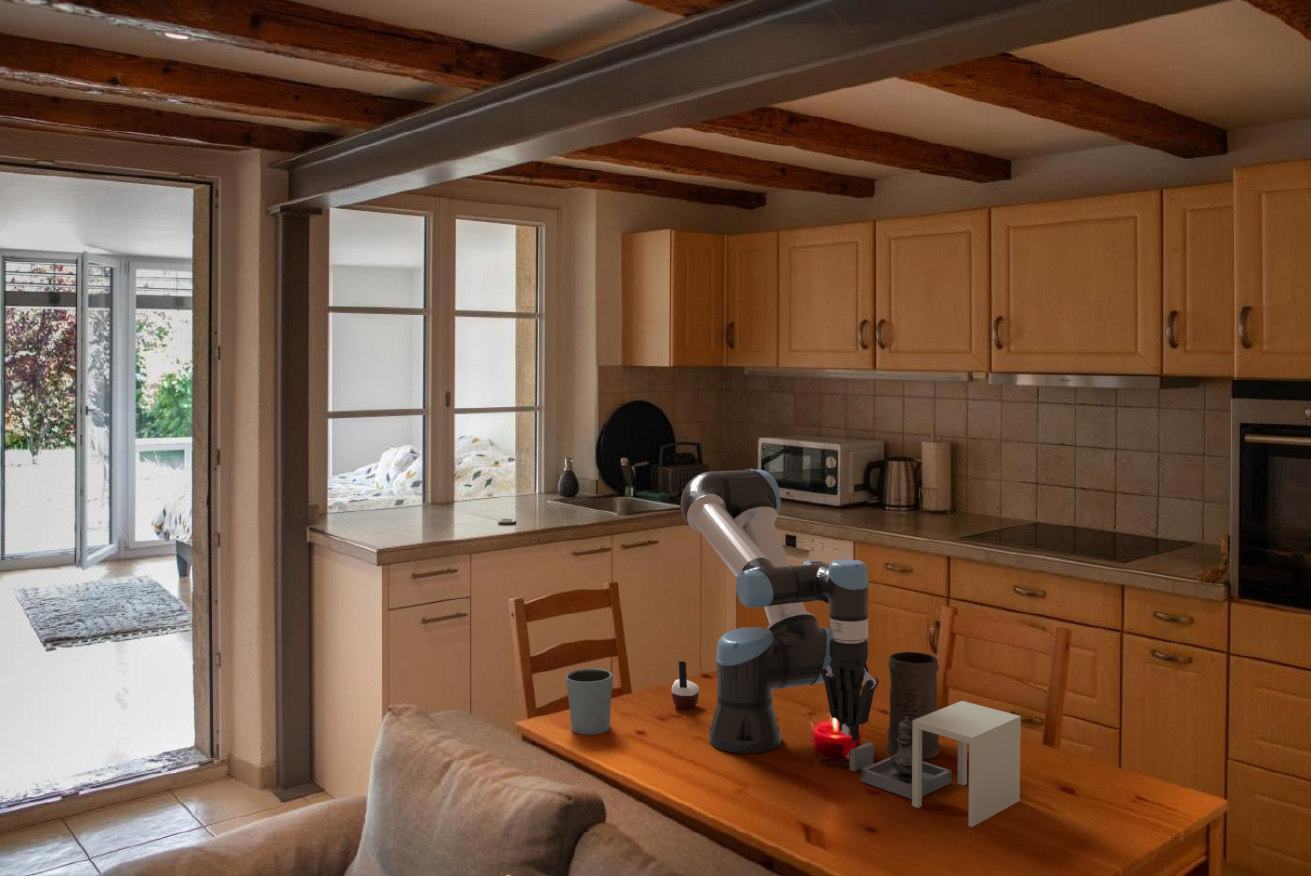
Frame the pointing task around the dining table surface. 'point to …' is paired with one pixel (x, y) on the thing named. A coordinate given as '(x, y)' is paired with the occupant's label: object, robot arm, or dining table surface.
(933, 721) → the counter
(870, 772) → the tray
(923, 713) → the beer stein
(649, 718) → the dining table surface
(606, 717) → the grey-blue cup
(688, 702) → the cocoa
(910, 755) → the dark grey tall piece
